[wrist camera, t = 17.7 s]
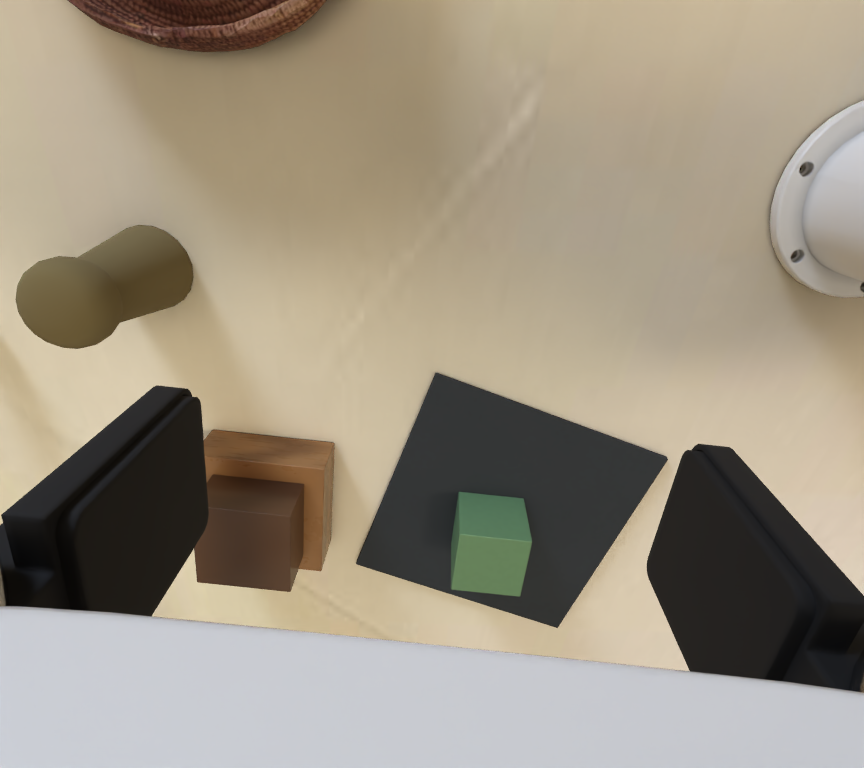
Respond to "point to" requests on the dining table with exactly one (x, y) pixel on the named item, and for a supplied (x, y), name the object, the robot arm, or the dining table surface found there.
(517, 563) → the green block
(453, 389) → the mat
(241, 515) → the walnut block
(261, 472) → the oak block
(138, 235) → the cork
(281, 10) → the wooden bowl
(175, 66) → the dining table surface
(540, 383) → the dining table surface
